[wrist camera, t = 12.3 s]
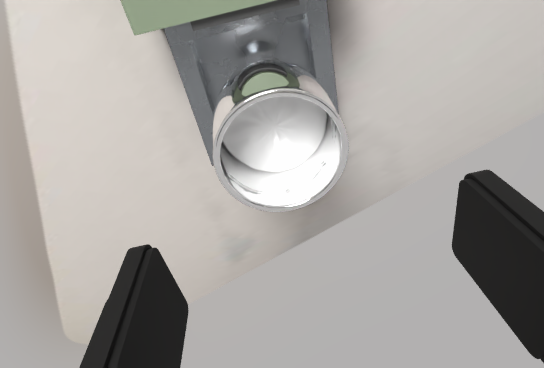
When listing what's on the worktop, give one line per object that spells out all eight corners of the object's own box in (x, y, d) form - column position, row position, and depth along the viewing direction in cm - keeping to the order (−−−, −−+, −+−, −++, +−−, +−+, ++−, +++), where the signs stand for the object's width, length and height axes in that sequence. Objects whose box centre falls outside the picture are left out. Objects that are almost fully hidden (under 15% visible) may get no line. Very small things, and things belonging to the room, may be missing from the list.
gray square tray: (315, -17, 26) (324, -17, 24) (332, 123, 33) (341, 135, 30) (169, 20, 27) (162, 24, 24) (213, 151, 33) (212, 166, 30)
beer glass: (270, 15, 26) (305, 49, 13) (315, 86, 29) (377, 168, 17) (202, 68, 28) (175, 144, 15) (252, 131, 31) (264, 236, 18)
